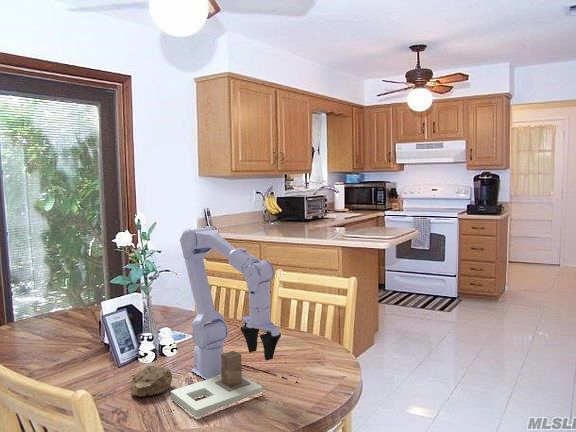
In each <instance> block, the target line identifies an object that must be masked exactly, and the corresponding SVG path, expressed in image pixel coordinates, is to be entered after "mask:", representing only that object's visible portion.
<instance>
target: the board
mask: <svg viewBox="0 0 576 432" xmlns="http://www.w3.org/2000/svg"><path fill="white" fill-rule="evenodd" d="M263 391H264V390H263V386H262V385H260V384H259V383H256V382H255V381H254V380H251V379H249V378H248V377H246V376H244V375H242V383H241V384H238V385H235V386H232V387H228V386H226V385H225V384H223V383H222V380H221V375H220V376H217V377H214V378H210V379H207V380H204V379H203V380H201V381H198V382H195V383H192V384H188V385H185V386H182V387H179V388H176V389H173V390H170V401H171V400H173V401H174V402H176V403H177V404H179V405H180V406H182V407H183V408H184V409H186V410H187V411H189V412H190V413H191V414H192V415H194V416H195V417H199V416H202V415H204V414H206V413H208V412H211V411H213V410H216V409H218V408H221V407H223V406H226V405H229V404H232V403H234V402H237V401H240V400H242V399H244V398H247V397H249V396H252V395H255V394H257V393H260V392H263ZM263 393H264V392H263ZM202 395H206V396H208V397H207V398H206V397H203V398H200V399H197V400H193V399H194V398H196V397H199V396H202ZM173 401H172V402H173ZM174 402H173V403H174ZM177 404H176V405H177Z"/></svg>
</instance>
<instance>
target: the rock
mask: <svg viewBox="0 0 576 432" xmlns="http://www.w3.org/2000/svg"><path fill="white" fill-rule="evenodd" d="M172 381H173V372H172V371H171V369H170V368H166V367H163V366H160V365H159V366H155V365H146V366H145V367H144V368H143V369H141V370H140V371H138V372H137V373H136V374H135V375H134V376H133V377H132V379H131V382H130V385H131V386H130V389H129V390H130V394H131V396H132V397H133V396H135V397H141V398H144V397H147V396H150V397H151V396H154V395H156V394H157V395H159V394H162V393H164V392H165V391H167V390H168V389H169V388H170V387H171V384H172Z"/></svg>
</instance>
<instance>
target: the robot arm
mask: <svg viewBox="0 0 576 432" xmlns="http://www.w3.org/2000/svg"><path fill="white" fill-rule="evenodd" d="M179 242H180V247H181V251H182V256H183V258H184V262H185V267H186V270H187V276H188V280H189V284H190V288H191V293H192V298H193V302H194V304H195V305H194V306H195V311H196V314H197V315H196V317H195V318H194V319H193V321H191V328H192V329H191V330H192V333H191V337H192V340H193V343H194V344H195V346H194V347H193V348H194V349H193V368H192V369H191V372H192V373H193V372H194V374H195V373H196V374H195V375H196V376H198V375H199V377H200V376H201V377H202V378H201V377H200V378H201V379H203V378H204V379H206V380H207V379H210V378H213V377H214V376H217V375H220V374H221V354H223V353H224V343H225V342H226V341H225V340H226V339H227V338H228V337H229V327H228V325H227V323H226V321H225V319H224V316H223V314H222V313H221V312H218V311H217V310H216V308H215V304H214V300H213V296H212V291H211V287H210V282H209V279H208V274H207V270H206V266H205V262H204V261H205V258H206V257H207V255H209V253H210V252H211V251H212V250H214V251H216V252H217V253H218V254H220V255H221V256H223V257H225V258H226V259H228V260H227V261H228V264H229V265H230V266H231V267H232V268H233V269H235V270H236V271H237V272H239V273H240V274H242V275H243V278H244V281H245V282H246V288H247V291H248V308H249V309H248V310H249V311H248V313H249V314H248V315H246V316H242V317H241V320H242V321H241V322H242V325H243V326H241V327H240V332H241V333H242V335H243V337H244V339H245V342H246V346H247V349H248V352H249V353H253V352H257V351H258V350H257V348H258V337H259V338H260V341H261V343H262V346H263V354H264V360H265V361H270V360H272V359H274V356H275V355H274V354H275V351H276V347H277V345H278V342H279V340H280V339H281V336H282V334H281V332H280V327H278V326H277V325H275V324H274V323H273V321H272V320H271V281H272V280H273V279H274V277H275V268H274V265H273V264H272V263H271V262H270V261H269V260H268V259H266V260H265V259H263V260H261V259H259V258H258V257H257V256H254V255H253V254H251V253H250V252H248V249H247V248H246V247H237V248H236V247H234V245H232V244H231V243H229V241H227V240H226V239H225V238H224V237H222V236H221V235H220V231H219V230H217V229H216V228H214V227H213V226H207V227H200V228H198V227H197V228H192V229H191V228H187V229H184V230H183V232H182V234H181V236H180V238H179ZM260 331H262V332H265V333H263V334H260V335H259V333H260ZM212 376H213V377H212ZM204 379H203V380H204Z"/></svg>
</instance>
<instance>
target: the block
mask: <svg viewBox="0 0 576 432" xmlns="http://www.w3.org/2000/svg"><path fill="white" fill-rule="evenodd" d="M242 364H243V363H242V354H241V353H239V352H237V351H234V350H231V351H228V352H223V354H221V380H222V383H223V384H225V385H226V386H228V387H232V386H235V385H238V384H241V383H242V376H243V373H242V370H243V369H242V366H243V365H242Z"/></svg>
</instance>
